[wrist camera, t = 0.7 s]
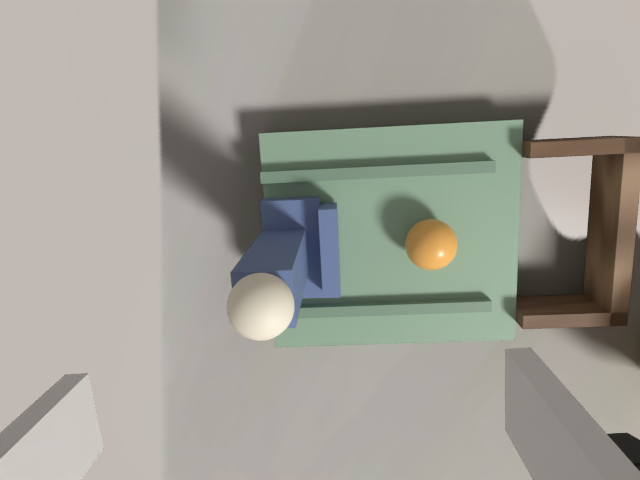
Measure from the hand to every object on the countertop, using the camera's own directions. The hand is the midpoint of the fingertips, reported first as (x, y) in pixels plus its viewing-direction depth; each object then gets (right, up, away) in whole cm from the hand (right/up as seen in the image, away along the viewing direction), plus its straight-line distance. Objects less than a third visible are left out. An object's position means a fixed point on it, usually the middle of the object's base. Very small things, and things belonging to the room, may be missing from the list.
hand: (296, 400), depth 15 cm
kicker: (-1, +5, +20) cm, 21 cm away
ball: (+8, +5, +18) cm, 21 cm away
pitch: (+6, +6, +22) cm, 24 cm away
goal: (+19, +6, +22) cm, 29 cm away
